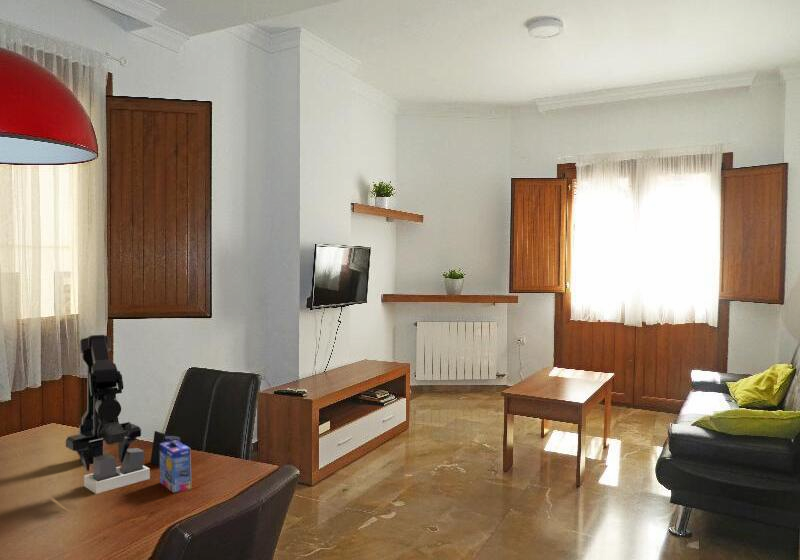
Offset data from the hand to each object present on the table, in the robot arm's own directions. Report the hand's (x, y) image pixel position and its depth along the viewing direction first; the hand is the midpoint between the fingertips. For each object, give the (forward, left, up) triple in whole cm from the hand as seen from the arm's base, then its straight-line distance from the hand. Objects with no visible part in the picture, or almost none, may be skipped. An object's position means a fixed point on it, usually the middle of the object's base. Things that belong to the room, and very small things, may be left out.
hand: (104, 466), depth 167 cm
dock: (0, +4, -6) cm, 7 cm away
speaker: (-6, +22, -6) cm, 23 cm away
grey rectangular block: (0, 0, -5) cm, 5 cm away
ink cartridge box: (+14, +14, -6) cm, 21 cm away
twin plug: (0, +7, -5) cm, 9 cm away
